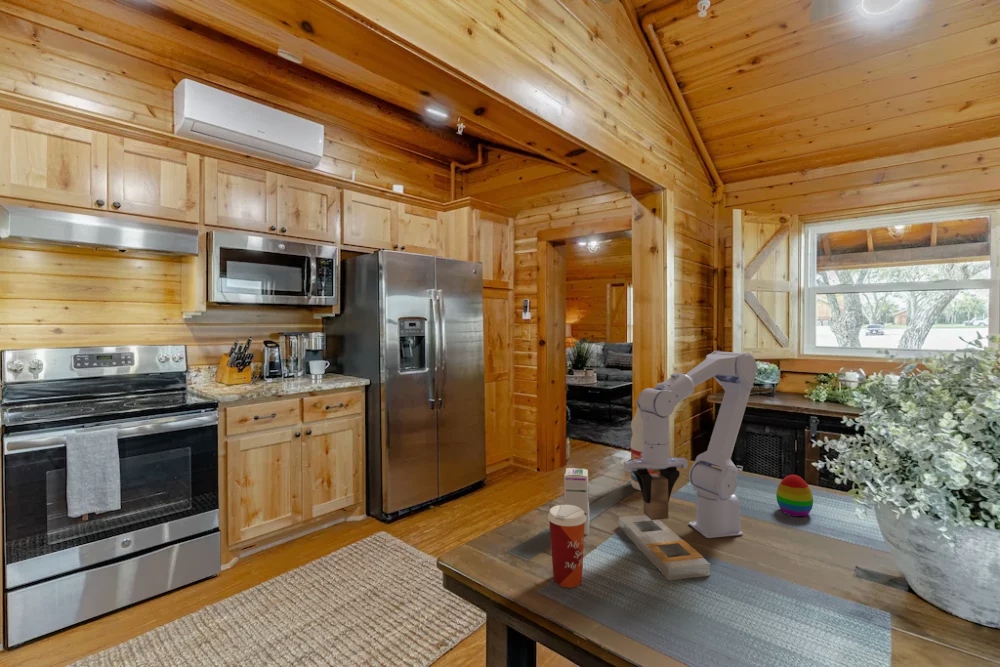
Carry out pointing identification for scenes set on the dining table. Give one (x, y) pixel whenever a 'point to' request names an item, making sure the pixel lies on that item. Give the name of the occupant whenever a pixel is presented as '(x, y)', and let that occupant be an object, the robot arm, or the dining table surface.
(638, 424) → the fruit juice
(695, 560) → the grey rail
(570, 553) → the paper cup
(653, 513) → the walnut peg
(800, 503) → the decorative egg
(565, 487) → the syrup box
